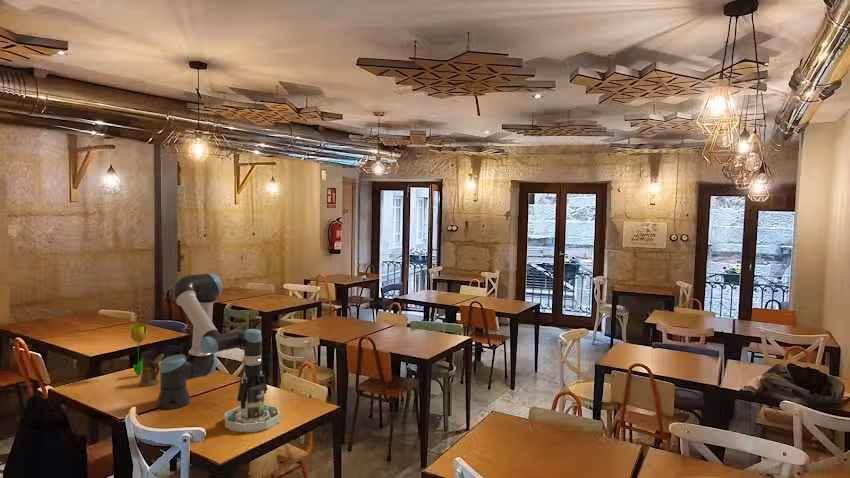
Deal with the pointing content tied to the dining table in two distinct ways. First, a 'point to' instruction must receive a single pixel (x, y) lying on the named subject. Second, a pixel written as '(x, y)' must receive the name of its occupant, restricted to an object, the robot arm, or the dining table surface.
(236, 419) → the tray
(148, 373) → the wooden mug
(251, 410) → the coffee can
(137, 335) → the flower
